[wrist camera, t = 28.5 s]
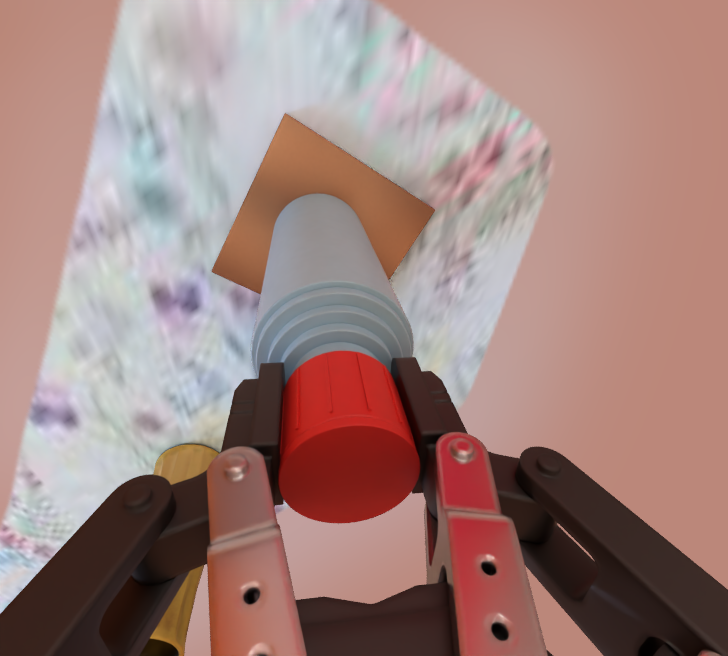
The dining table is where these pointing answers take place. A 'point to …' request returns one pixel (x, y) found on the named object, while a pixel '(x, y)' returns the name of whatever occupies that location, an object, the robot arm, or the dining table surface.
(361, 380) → the cap
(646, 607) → the robot arm
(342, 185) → the coaster
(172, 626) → the vase
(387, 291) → the bottle
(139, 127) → the dining table surface
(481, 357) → the dining table surface
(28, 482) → the dining table surface
